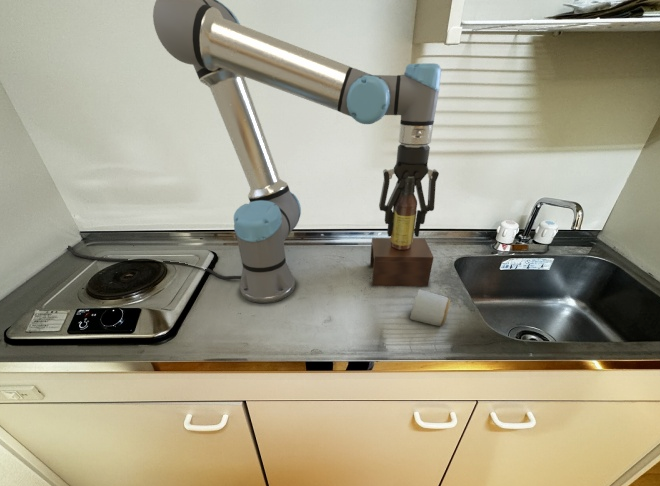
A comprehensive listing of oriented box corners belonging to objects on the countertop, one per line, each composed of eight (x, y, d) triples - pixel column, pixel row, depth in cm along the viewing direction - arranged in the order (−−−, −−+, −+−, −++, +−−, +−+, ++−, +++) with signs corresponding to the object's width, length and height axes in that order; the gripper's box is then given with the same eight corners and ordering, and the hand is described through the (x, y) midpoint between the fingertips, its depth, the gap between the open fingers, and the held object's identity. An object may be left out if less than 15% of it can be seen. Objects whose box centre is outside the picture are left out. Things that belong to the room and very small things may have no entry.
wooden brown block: (372, 285, 92) (374, 256, 86) (370, 265, 101) (371, 237, 96) (427, 286, 91) (433, 257, 86) (420, 265, 101) (424, 238, 95)
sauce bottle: (396, 239, 95) (404, 170, 83) (415, 245, 91) (426, 173, 80) (385, 247, 90) (392, 175, 79) (404, 253, 87) (414, 179, 76)
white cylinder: (442, 333, 75) (449, 307, 70) (408, 325, 77) (413, 299, 73) (447, 308, 83) (453, 283, 78) (416, 301, 85) (420, 277, 81)
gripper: (373, 147, 72) (368, 239, 86) (460, 147, 72) (441, 240, 85) (371, 141, 78) (366, 228, 92) (451, 141, 78) (435, 229, 91)
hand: (402, 234), depth 88 cm, fingers open, 7 cm apart
